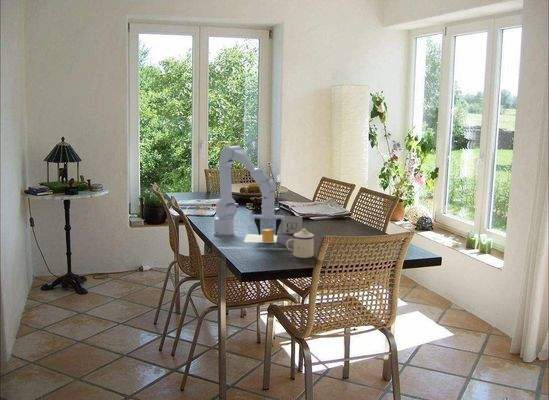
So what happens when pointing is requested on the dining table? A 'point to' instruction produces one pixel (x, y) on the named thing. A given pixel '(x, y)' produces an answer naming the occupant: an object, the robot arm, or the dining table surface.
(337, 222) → the dining table surface
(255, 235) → the cover plate
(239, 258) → the dining table surface
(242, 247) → the dining table surface
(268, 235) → the orange cube
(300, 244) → the teacup with lid
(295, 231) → the electrical switch
